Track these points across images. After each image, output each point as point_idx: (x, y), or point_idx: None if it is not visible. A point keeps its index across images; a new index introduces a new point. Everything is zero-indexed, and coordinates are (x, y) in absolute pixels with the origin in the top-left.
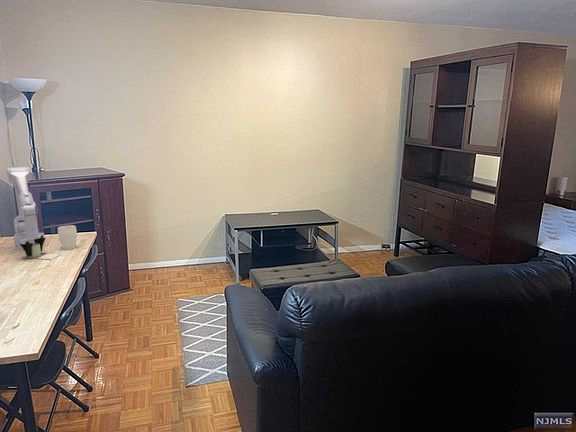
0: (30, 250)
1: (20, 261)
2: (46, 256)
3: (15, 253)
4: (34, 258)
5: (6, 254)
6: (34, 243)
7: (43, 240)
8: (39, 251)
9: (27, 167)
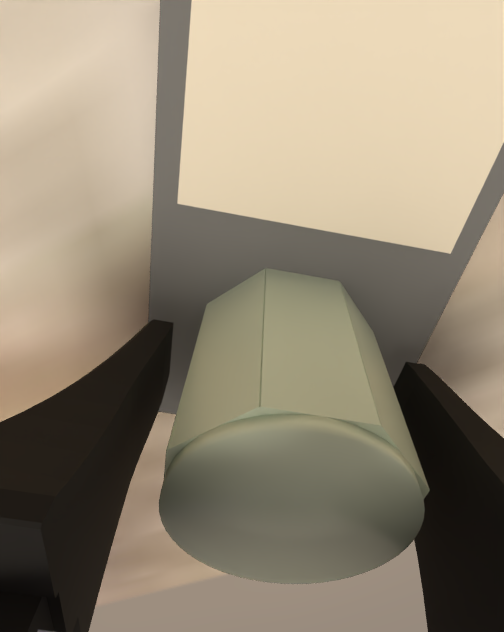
0: (492, 438)
1: (472, 409)
2: (364, 127)
3: (167, 534)
4: (427, 294)
5: (204, 570)
6: (195, 529)
7: (35, 456)
8: (298, 316)
9: None
